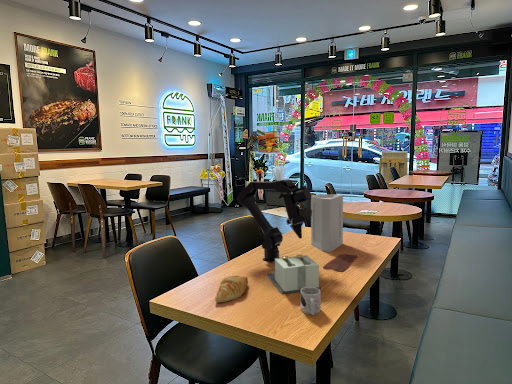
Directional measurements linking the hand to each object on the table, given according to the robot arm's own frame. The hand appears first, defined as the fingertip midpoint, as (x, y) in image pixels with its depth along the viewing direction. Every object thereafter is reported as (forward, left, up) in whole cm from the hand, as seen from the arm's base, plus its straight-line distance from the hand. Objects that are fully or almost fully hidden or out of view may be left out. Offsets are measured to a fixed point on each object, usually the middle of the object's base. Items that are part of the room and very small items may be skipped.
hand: (300, 238), depth 157 cm
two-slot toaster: (+9, -22, -13) cm, 27 cm away
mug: (+23, -39, -13) cm, 47 cm away
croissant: (-9, -41, -14) cm, 44 cm away
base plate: (+6, -19, -13) cm, 24 cm away
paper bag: (-4, +36, -13) cm, 39 cm away
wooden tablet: (+14, +15, -14) cm, 25 cm away
